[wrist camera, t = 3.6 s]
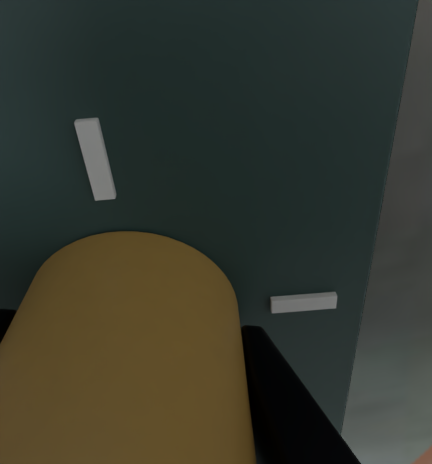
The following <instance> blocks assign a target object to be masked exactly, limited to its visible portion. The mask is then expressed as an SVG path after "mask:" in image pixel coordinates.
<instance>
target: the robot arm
mask: <svg viewBox="0 0 432 464" xmlns="http://www.w3.org/2000/svg"><path fill="white" fill-rule="evenodd" d="M16 312H17V310H14V309H0V343H1V341H2V340H3V338H4V336H5V334H6V332H7V330H8V328H9V326H10V324H11V322H12V320H13V318H14V316H15V314H16ZM241 336H242V344H243V353H244V361H245V369H246V378H247V386H248V395H249V403H250V411H251V420H252V428H253V436H254V445H255V453H256V462H257V464H361V463H360V462H359V460H358V459H357V458H356V456H355V455H354V453H353V452H352V451H351V449H350V448H349V447H348V445H347V444H346V442H345V441H344V440H343V438H342V437H341V435H340V434H339V433H338V431H337V430H336V428H335V427H334V426H333V424H332V423H331V422H330V420H329V419H328V417H327V416H326V415H325V413H324V412H323V410H322V409H321V408H320V406H319V405H318V403H317V402H316V401H315V399H314V398H313V397H312V395H311V394H310V392H309V391H308V390H307V388H306V387H305V385H304V384H303V383H302V381H301V380H300V379H299V377H298V376H297V374H296V373H295V372H294V370H293V369H292V367H291V366H290V365H289V363H288V362H287V360H286V359H285V358H284V356H283V355H282V354H281V352H280V351H279V349H278V348H277V347H276V345H275V344H274V342H273V341H272V340H271V338H270V337H269V335H268V334H267V333H266V331H265V330H264V329H263V328H262V327H261V326H254V325H244V326H242V328H241Z"/></svg>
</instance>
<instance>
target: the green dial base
mask: <svg viewBox="0 0 432 464" xmlns="http://www.w3.org/2000/svg"><path fill="white" fill-rule="evenodd" d="M417 6H418V0H0V309H14V310H18V308H19V306H20V304H21V302H22V300H23V299H24V297H25V295H26V293H27V291H28V289H29V287H30V285H31V283H32V281H33V279H34V277H35V275H36V273H37V271H38V270H39V269H40V267H41V266H42V265H43V264H44V262H45V261H46V260H48V259H49V258H50V257H51V256H52V255H53V254H54V253H56V252H57V251H59V250H60V249H62V248H63V247H65V246H67V245H69V244H71V243H73V242H75V241H77V240H80V239H82V238H85V237H88V236H92V235H96V234H101V233H106V232H117V231H138V232H146V233H153V234H157V235H161V236H166V237H169V238H172V239H175V240H177V241H180V242H183V243H185V244H187V245H189V246H191V247H193V248H195V249H196V250H198V251H199V252H201V253H202V254H204V255H206V256H207V257H208V258H209V259H210V260H211V261H213V262H214V263H215V264H216V265H217V266H218V267H219V268H220V269H221V271H222V272H223V273H224V274H225V276H226V277H227V279H228V280H229V282H230V283H231V285H232V287H233V290H234V292H235V295H236V299H237V303H238V311H239V319H240V328H242V326H244V325H254V326H261V327H262V328H263V329H264V330H265V331H266V333H267V334H268V335H269V337H270V338H271V340H272V341H273V342H274V344H275V345H276V347H277V348H278V349H279V351H280V352H281V354H282V355H283V356H284V358H285V359H286V360H287V362H288V363H289V365H290V366H291V367H292V369H293V370H294V372H295V373H296V374H297V376H298V377H299V379H300V380H301V381H302V383H303V384H304V385H305V387H306V388H307V390H308V391H309V392H310V394H311V395H312V397H313V398H314V399H315V401H316V402H317V403H318V405H319V406H320V408H321V409H322V410H323V412H324V413H325V415H326V416H327V417H328V419H329V420H330V422H331V423H332V424H333V426H334V427H335V428H336V430H337V431H338V433H339V434H340V435H341V430H342V425H343V419H344V413H345V408H346V402H347V397H348V391H349V386H350V380H351V374H352V369H353V363H354V358H355V352H356V346H357V341H358V335H359V330H360V324H361V319H362V313H363V307H364V302H365V296H366V291H367V285H368V279H369V274H370V268H371V263H372V257H373V251H374V246H375V240H376V235H377V229H378V224H379V218H380V212H381V207H382V201H383V196H384V190H385V184H386V179H387V173H388V168H389V162H390V157H391V151H392V145H393V140H394V134H395V129H396V123H397V117H398V112H399V106H400V101H401V95H402V89H403V84H404V78H405V73H406V67H407V62H408V56H409V50H410V45H411V39H412V34H413V28H414V22H415V17H416V11H417Z"/></svg>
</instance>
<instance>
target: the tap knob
mask: <svg viewBox="0 0 432 464" xmlns="http://www.w3.org/2000/svg"><path fill="white" fill-rule="evenodd" d="M0 464H257V462H256V453H255V445H254V436H253V428H252V420H251V411H250V403H249V395H248V386H247V378H246V369H245V361H244V353H243V344H242V336H241V328H240V319H239V311H238V303H237V299H236V295H235V292H234V290H233V287H232V285H231V283H230V282H229V280H228V279H227V277H226V276H225V274H224V273H223V272H222V271H221V269H220V268H219V267H218V266H217V265H216V264H215V263H214V262H213V261H211V260H210V259H209V258H208V257H207V256H206V255H204V254H202V253H201V252H199V251H198V250H196V249H195V248H193V247H191V246H189V245H187V244H185V243H183V242H180V241H177V240H175V239H172V238H169V237H166V236H161V235H157V234H153V233H146V232H138V231H117V232H106V233H101V234H96V235H92V236H88V237H85V238H82V239H80V240H77V241H75V242H73V243H71V244H69V245H67V246H65V247H63V248H62V249H60V250H59V251H57V252H56V253H54V254H53V255H52V256H51V257H50V258H49V259H48V260H46V261H45V262H44V264H43V265H42V266H41V267H40V269H39V270H38V271H37V273H36V275H35V277H34V279H33V281H32V283H31V285H30V287H29V289H28V291H27V293H26V295H25V297H24V299H23V300H22V302H21V304H20V306H19V308H18V310H17V312H16V314H15V316H14V318H13V320H12V322H11V324H10V326H9V328H8V330H7V332H6V334H5V336H4V338H3V340H2V341H1V343H0Z"/></svg>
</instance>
